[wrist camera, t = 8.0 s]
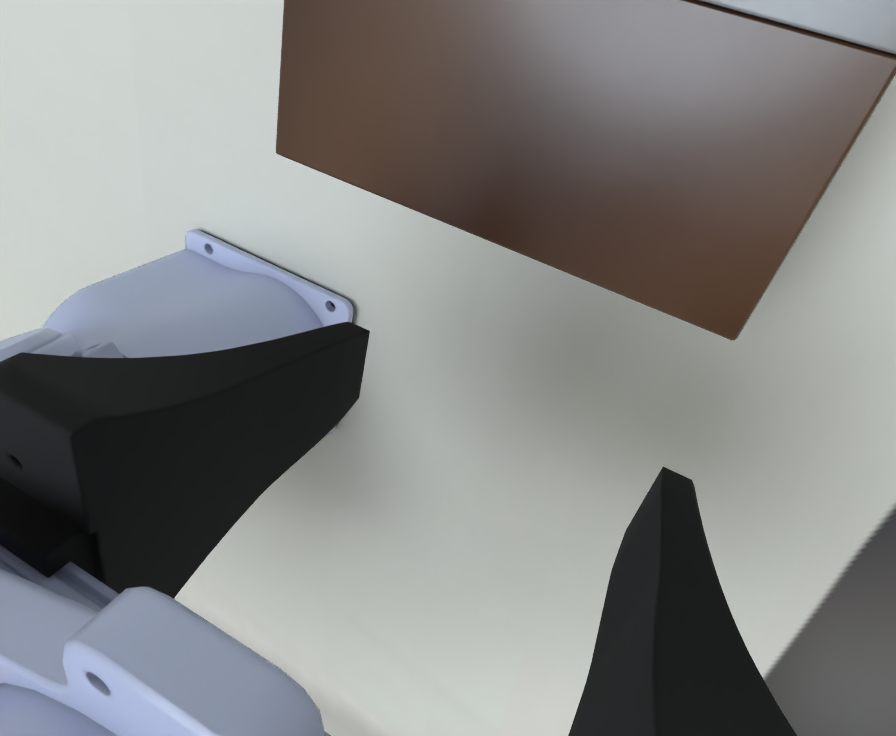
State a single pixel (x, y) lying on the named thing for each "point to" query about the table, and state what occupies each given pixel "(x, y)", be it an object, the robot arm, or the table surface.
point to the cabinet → (595, 127)
